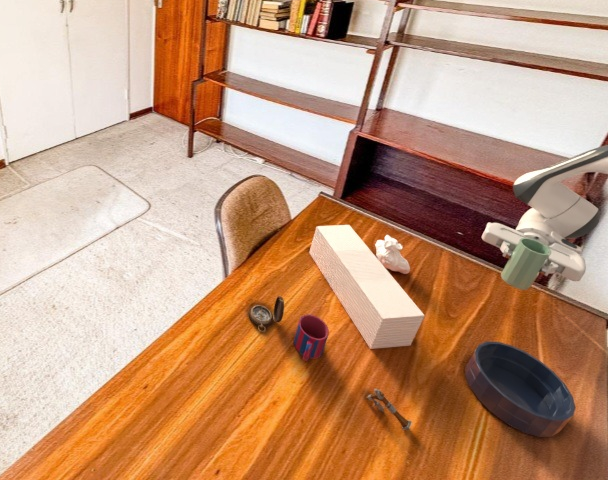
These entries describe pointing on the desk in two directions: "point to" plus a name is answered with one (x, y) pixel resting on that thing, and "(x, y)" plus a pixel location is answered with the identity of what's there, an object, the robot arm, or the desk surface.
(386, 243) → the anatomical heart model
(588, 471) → the desk surface
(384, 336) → the stack of papers
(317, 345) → the mug
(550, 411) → the wash bowl
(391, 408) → the brown grey jointed rod
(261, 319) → the compass
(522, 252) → the green cup
